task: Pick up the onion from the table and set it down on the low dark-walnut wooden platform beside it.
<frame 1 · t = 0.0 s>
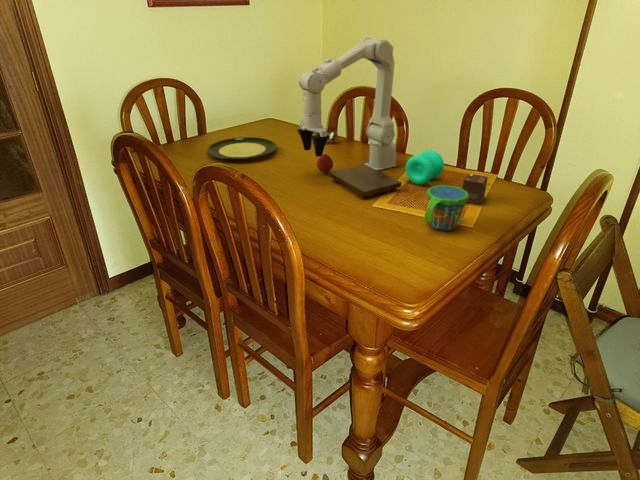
hand: (313, 152, 150), 10 cm above the table, tool pointing down, fingers open, 7 cm apart
plate: (242, 153, 183), on the table
onion: (324, 174, 161), on the table
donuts: (423, 181, 154), on the table
snack cup: (443, 226, 125), on the table
platform: (364, 185, 151), on the table
box: (471, 200, 140), on the table
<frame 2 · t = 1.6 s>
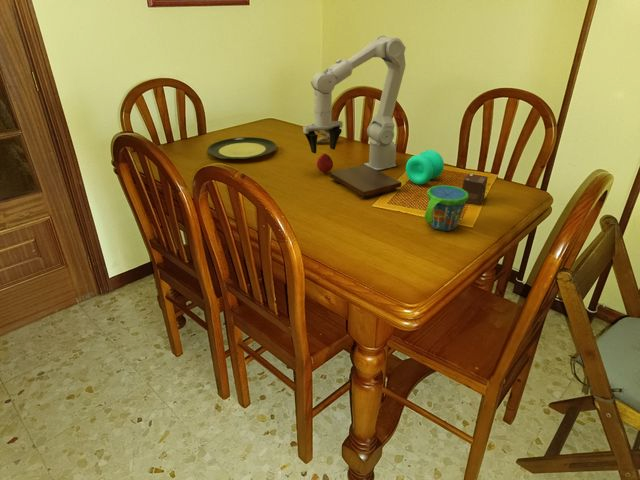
hand: (323, 150, 156), 9 cm above the table, tool pointing down, fingers open, 7 cm apart
nothing on the table moved.
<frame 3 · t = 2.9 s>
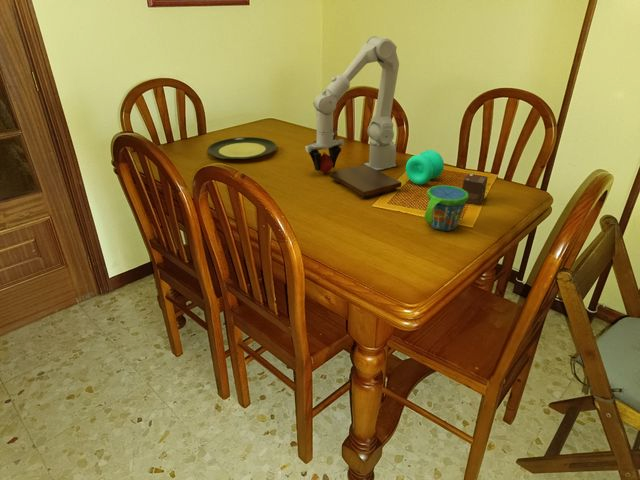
hand: (324, 168, 160), 2 cm above the table, tool pointing down, fingers closed on onion, 6 cm apart
onion: (324, 174, 161), on the table, touching gripper
everything else where it was.
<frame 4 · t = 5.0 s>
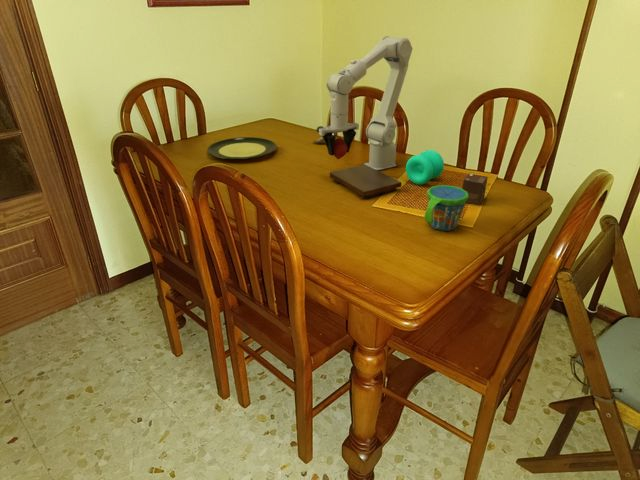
hand: (338, 153, 153), 9 cm above the table, tool pointing down, fingers closed on onion, 6 cm apart
onion: (338, 159, 154), point 7 cm above the table, touching gripper
everything else where it was.
when the fingers open (5 cm above the table, at t = 7.4 s): onion stays where it is, resting on platform.
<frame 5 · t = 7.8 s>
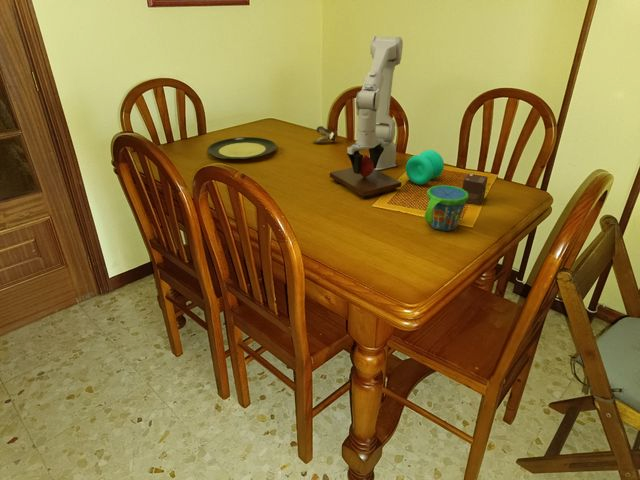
hand: (364, 170, 149), 5 cm above the table, tool pointing down, fingers open, 7 cm apart
onion: (364, 177, 150), point 3 cm above the table, touching platform
everything else where it was.
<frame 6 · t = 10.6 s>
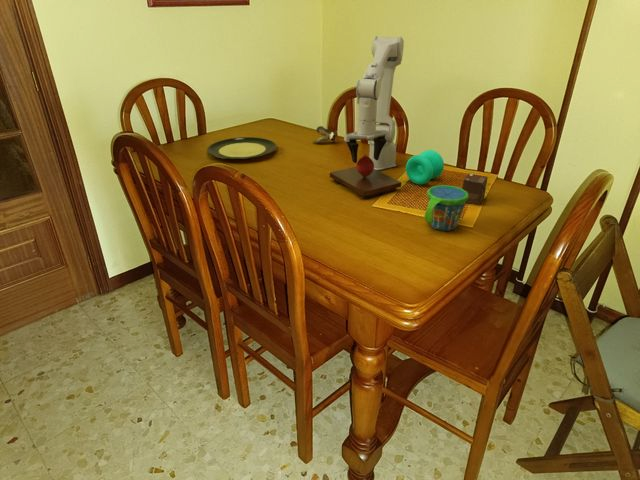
hand: (365, 160, 147), 9 cm above the table, tool pointing down, fingers open, 7 cm apart
nothing on the table moved.
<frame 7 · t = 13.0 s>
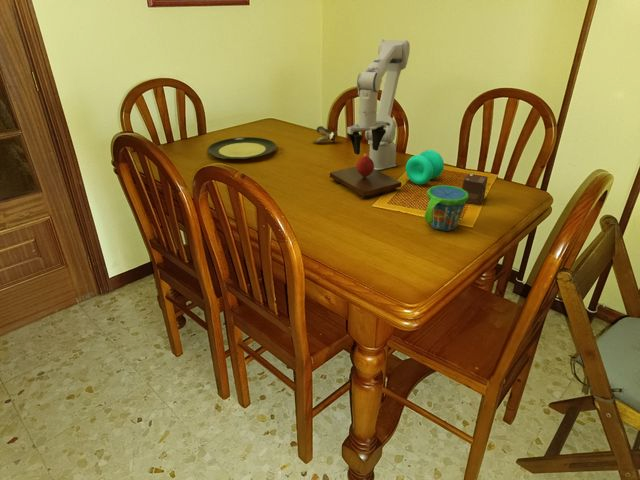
hand: (366, 151, 151), 10 cm above the table, tool pointing down, fingers open, 7 cm apart
nothing on the table moved.
at the end: onion inside the target area on the platform (0.0 cm from its centre), point 2.8 cm above the platform's base; the gripper is holding nothing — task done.
